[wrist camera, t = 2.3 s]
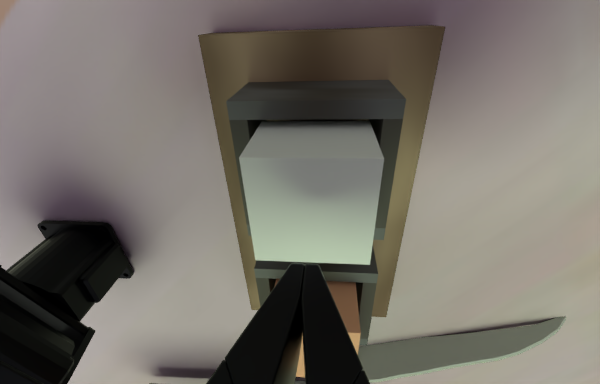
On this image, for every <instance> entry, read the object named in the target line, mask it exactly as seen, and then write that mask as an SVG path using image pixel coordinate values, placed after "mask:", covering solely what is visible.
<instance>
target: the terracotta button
mask: <svg viewBox="0 0 600 384" xmlns="http://www.w3.org/2000/svg"><path fill="white" fill-rule="evenodd" d="M279 280H280V279H276V281H275V285H276V284H277V283H278V281H279ZM326 282H327V285H328V287H329V289H330V292H331V294H332V296H333V299H334V301H335V303H336V306H337V308H338V310H339V313H340V315H341V317H342V320H343V322H344V324H345V327H346V329H347V331H348V334H349V336H350V338H351V341H352V343H353V345H354V348H355V350H356V352H357V354H358V350H359V342H360V335H361V331H360V321H359V311H358V301H357V291H356V282H339V281H326ZM274 287H275V286H274ZM296 377H305V370H304V353H303V335H302V343H301V349H300V355H299V361H298V366H297V372H296Z"/></svg>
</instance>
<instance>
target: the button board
mask: <svg viewBox="0 0 600 384" xmlns="http://www.w3.org/2000/svg"><path fill="white" fill-rule="evenodd" d="M444 30H445V27H442V26H433V25H429V26H400V27H371V28H342V29H313V30H284V31H255V32H227V33H209V34H203V35H198V37H199V42H200V47H201V52H202V57H203V62H204V67H205V73H206V78H207V83H208V88H209V93H210V98H211V103H212V109H213V114H214V119H215V124H216V129H217V134H218V139H219V145H220V150H221V155H222V160H223V165H224V170H225V175H226V181H227V186H228V191H229V196H230V201H231V206H232V211H233V217H234V222H235V227H236V232H237V237H238V242H239V247H240V253H241V258H242V263H243V268H244V273H245V278H246V283H247V289H248V294H249V299H250V304H251V309H252V310H259V308H260V307H261V305H262V304H263V303H264V301H265V300H266V298H267V297H268V295H269V294H270V293H271V291H272V290H273V288H274V286H275V281H276V279H280V278H281V277H282V275H283V274H284V273H285V271H286V270H287V268H288V267H289V265H290V264H291V263H303V264H304V265H305V264H307V263H309V264H318V265H319V266H320V268H321V271H322V273H323V275H324V278H325V280H326V281H339V282H356V291H357V301H358V311H359V321H360V331H361V335H360V342H359V345H367V341H368V335H369V329H370V323H371V316H375V317H386V315H387V310H388V305H389V300H390V295H391V290H392V286H393V281H394V276H395V271H396V266H397V261H398V256H399V251H400V246H401V241H402V236H403V232H404V227H405V222H406V217H407V212H408V207H409V202H410V197H411V192H412V187H413V182H414V178H415V173H416V168H417V163H418V158H419V153H420V148H421V143H422V138H423V133H424V129H425V124H426V119H427V114H428V109H429V104H430V99H431V94H432V89H433V84H434V79H435V75H436V70H437V65H438V60H439V55H440V50H441V45H442V40H443V35H444ZM262 121H370V123H371V125H372V128H373V131H374V133H375V136H376V139H377V141H378V144H379V146H380V149H381V152H382V154H383V157H384V163H383V171H382V178H381V186H380V193H379V201H378V208H377V216H376V223H375V230H374V238H373V245H372V253H371V260H370V265H363V264H338V263H312V262H287V261H261V260H255V254H254V248H253V242H252V236H251V229H250V223H249V217H248V211H247V204H246V198H245V192H244V186H243V179H242V173H241V167H240V161H239V157H240V155H241V154H242V152H243V151H244V149H245V147H246V146H247V144H248V143H249V141H250V139H251V138H252V136H253V135H254V133H255V131H256V130H257V128H258V127H259V125H260V123H261V122H262Z"/></svg>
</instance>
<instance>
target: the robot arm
mask: <svg viewBox="0 0 600 384" xmlns="http://www.w3.org/2000/svg"><path fill="white" fill-rule="evenodd" d="M38 228H39V229H40V231H41V232H42V234H43V235H44V237H45V238H46V239H45V240H44V241H43V242H41V243H40V244H39V245H38V246H36V247H35V248H34V249H33V250H31V251H30V252H29V253H28V254H26V255H25V256H24V257H23V258H21V259H20V260H19V261H18V262H16V263H15V264H14V265H13V266H11V267H10V268H9V269H7V270H4V269H3V268H1V265H0V384H67V383H68V381H69V380H70V378H71V376H72V374H73V372H74V370H75V369H76V367H77V365H78V363H79V361H80V359H81V357H82V355H83V354H84V352H85V350H86V348H87V346H88V344H89V342H90V340H91V339H92V337H93V335H94V333H95V330H93V329H92V328H91V327H87V326H85V325H84V324H82V323H81V322H80V321H81V319H82V318H83V317H84V316H85V314H86V313H87V312H88V311H89V309H90V308H91V307H92V306H93V305H94V303H98V302H99V301H100V300H101V299H102V298H103V297H104V295H105V294H106V293H107V292H108V290H109V289H110V288H111V287H112V285H113V284H114V283H115V282H116V280H117V279H118V278H131V277H132V275H133V270H132V268H131V266H130V264H129V262H128V260H127V258H126V256H125V254H124V252H123V250H122V248H121V246H120V244H119V242H118V239H117V237H116V235H115V233H114V231H113V229H112V227H111V226H110V225H109V224H108V223H105V222H76V221H42V222H41V223H39V224H38ZM302 335H303V353H304V370H305V384H370V382H369V380H368V377H367V375H366V373H365V371H364V370H363V366H362V364H361V361H360V359H359V357H358V354H357V352H356V350H355V348H354V345H353V343H352V341H351V338H350V336H349V334H348V331H347V329H346V327H345V324H344V322H343V320H342V317H341V315H340V313H339V310H338V308H337V306H336V303H335V301H334V299H333V296H332V294H331V292H330V289H329V287H328V285H327V282H326V280H325V278H324V275H323V273H322V271H321V268H320V266H319V265H318V264H309V263H307V264H305V265H304V264H303V263H291V264H290V265H289V267H288V268H287V270H286V271H285V273H284V274H283V275H282V277H281V278H280V280H279V281H278V283H277V284H276V285H275V287H274V288H273V290H272V291H271V293H270V294H269V295H268V297H267V298H266V300H265V301H264V303H263V304H262V305H261V307H260V308H259V310H258V311H257V313H256V314H255V315H254V317H253V318H252V320H251V321H250V323H249V324H248V325H247V327H246V328H245V330H244V331H243V333H242V334H241V335H240V337H239V338H238V340H237V341H236V343H235V344H234V346H233V347H232V348H231V350H230V351H229V353H228V354H227V356H226V357H225V360H223V361H222V362H221V364H220V365H219V367H218V368H217V370H216V371H215V372H214V374H213V375H212V377H211V378H210V379H209V381H208V382H207V383H206V384H295V378H296V372H297V366H298V361H299V355H300V349H301V343H302Z"/></svg>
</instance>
